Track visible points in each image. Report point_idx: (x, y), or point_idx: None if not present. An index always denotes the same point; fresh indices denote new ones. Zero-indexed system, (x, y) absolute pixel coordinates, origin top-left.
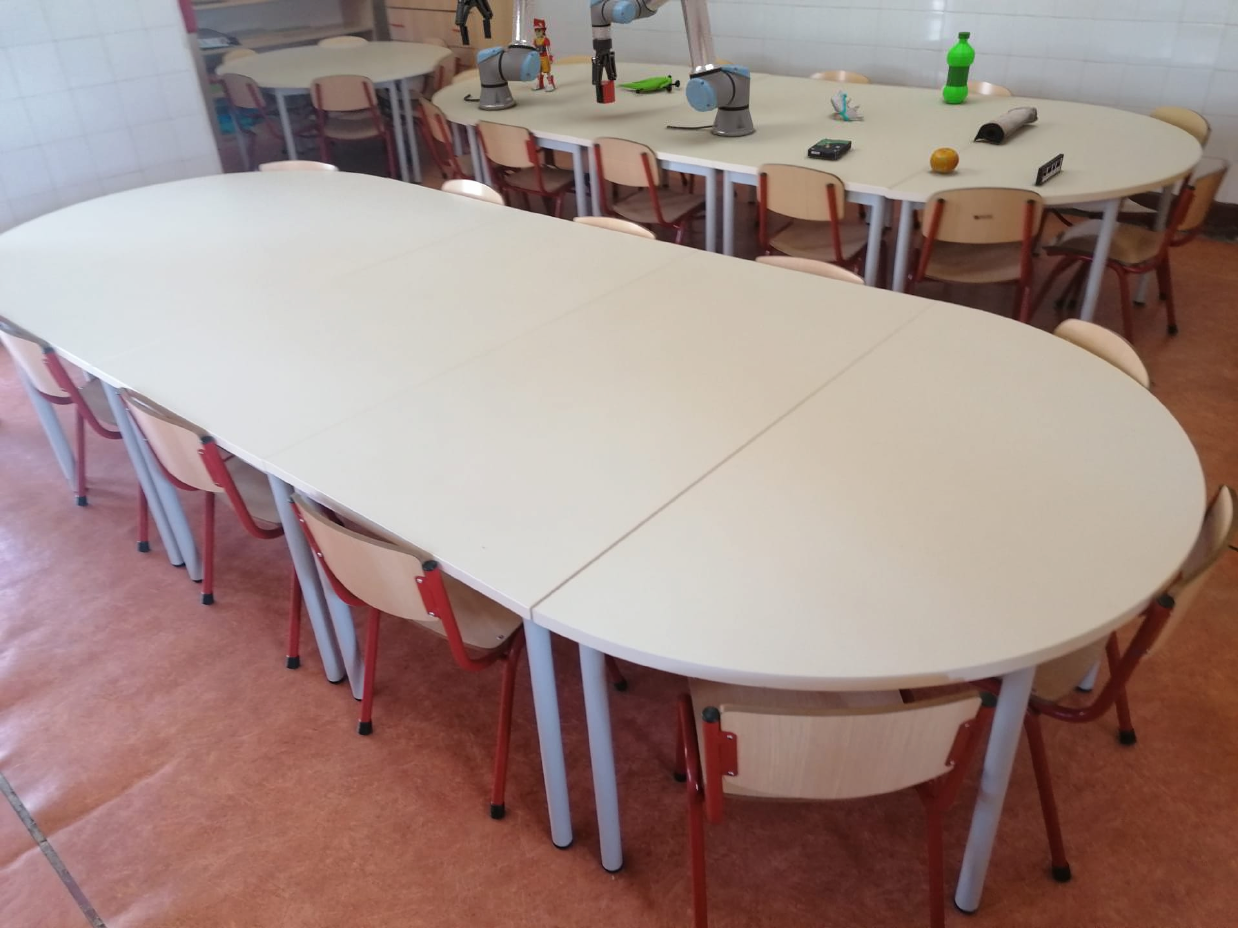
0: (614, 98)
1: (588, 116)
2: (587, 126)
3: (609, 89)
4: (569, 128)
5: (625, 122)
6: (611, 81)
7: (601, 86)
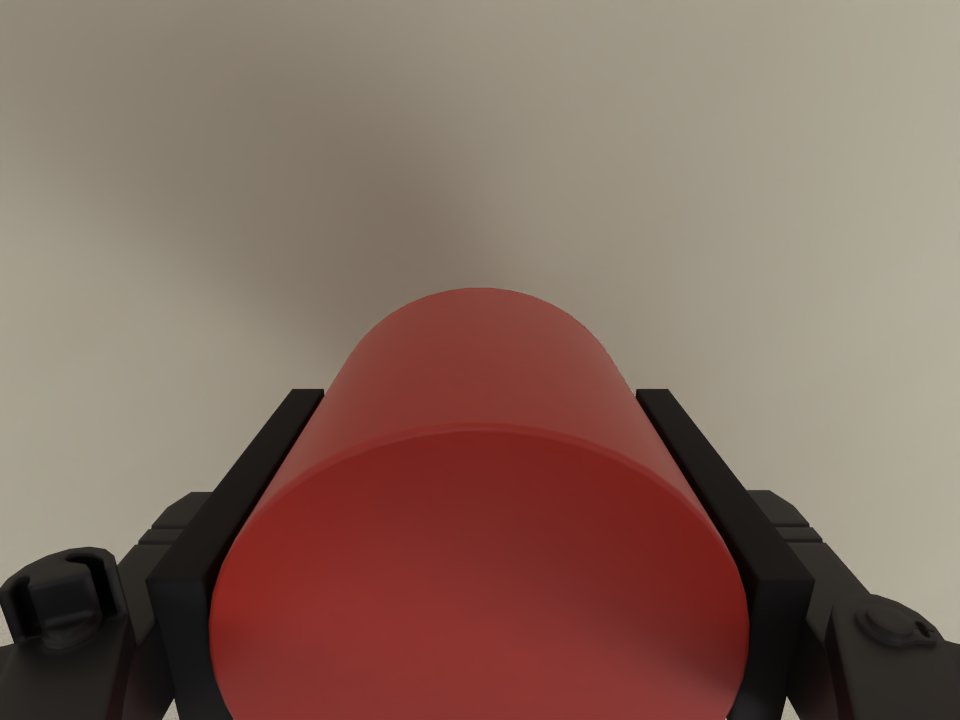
0: (444, 303)
1: None
2: (841, 370)
3: (603, 398)
4: (939, 493)
5: (575, 15)
6: (284, 578)
7: (798, 577)
